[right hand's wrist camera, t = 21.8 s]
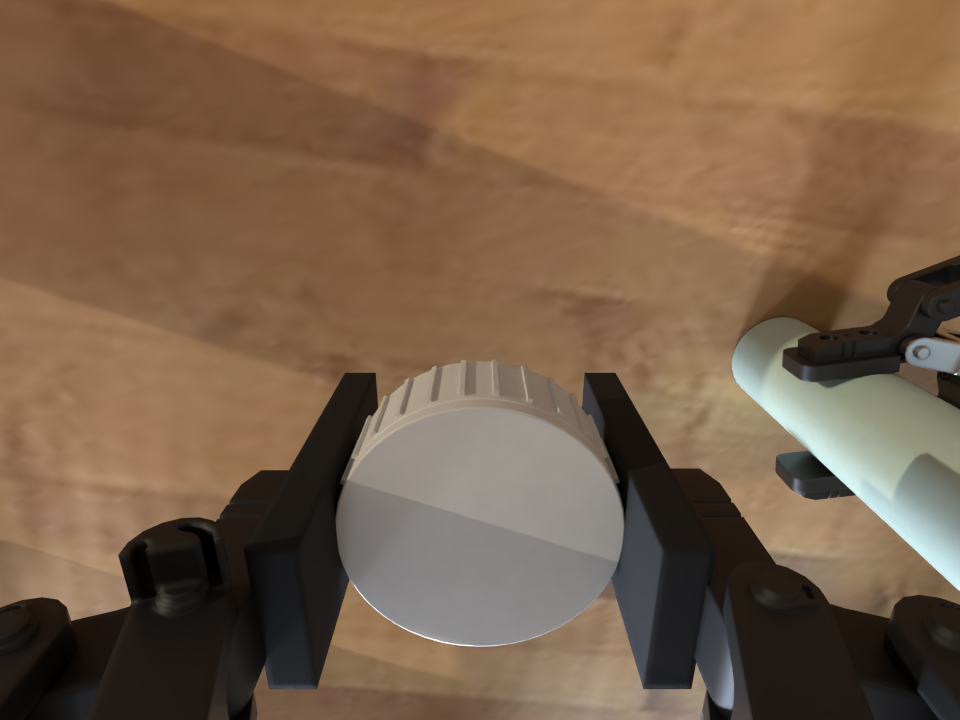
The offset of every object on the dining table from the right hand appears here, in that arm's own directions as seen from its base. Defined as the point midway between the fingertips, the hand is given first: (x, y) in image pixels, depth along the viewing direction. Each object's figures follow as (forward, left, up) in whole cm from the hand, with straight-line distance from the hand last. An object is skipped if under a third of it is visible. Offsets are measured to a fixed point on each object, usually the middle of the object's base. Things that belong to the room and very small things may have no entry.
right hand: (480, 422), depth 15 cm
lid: (0, 0, +4) cm, 4 cm away
